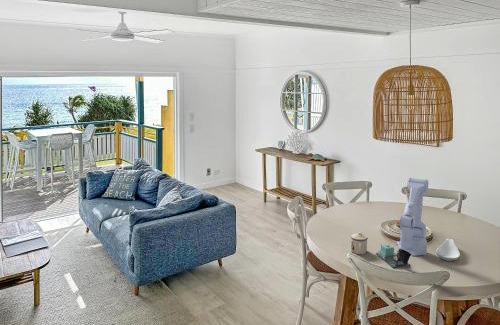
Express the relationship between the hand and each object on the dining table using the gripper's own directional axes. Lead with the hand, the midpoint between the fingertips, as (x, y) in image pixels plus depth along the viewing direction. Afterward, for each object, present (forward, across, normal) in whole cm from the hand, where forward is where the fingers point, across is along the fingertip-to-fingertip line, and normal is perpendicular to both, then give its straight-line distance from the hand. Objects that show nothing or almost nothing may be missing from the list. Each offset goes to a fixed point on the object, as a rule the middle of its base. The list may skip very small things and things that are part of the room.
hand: (404, 263), depth 203 cm
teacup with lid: (+4, -25, -13) cm, 28 cm away
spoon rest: (+4, -10, +34) cm, 35 cm away
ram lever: (+2, -6, 0) cm, 7 cm away
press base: (+3, -11, 0) cm, 12 cm away
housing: (+2, -17, 0) cm, 17 cm away
